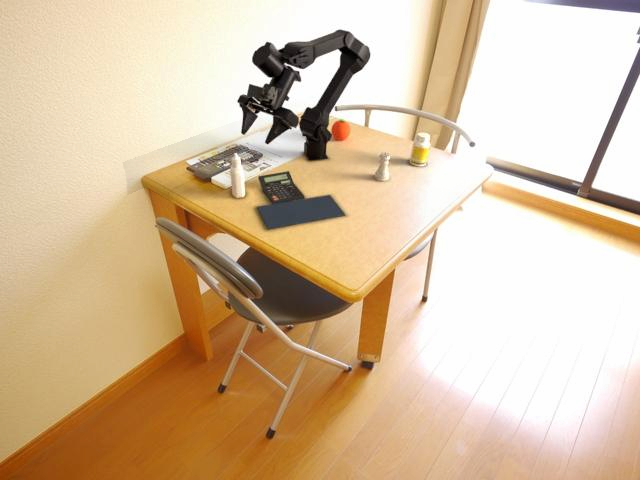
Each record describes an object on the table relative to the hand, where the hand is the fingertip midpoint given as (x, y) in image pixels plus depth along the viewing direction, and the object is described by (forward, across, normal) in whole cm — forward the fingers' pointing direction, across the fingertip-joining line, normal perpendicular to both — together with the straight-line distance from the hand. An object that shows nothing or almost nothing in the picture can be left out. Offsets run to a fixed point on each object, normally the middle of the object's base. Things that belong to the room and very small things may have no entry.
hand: (254, 138), depth 111 cm
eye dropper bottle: (+15, +1, +3) cm, 16 cm away
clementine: (-18, -1, +42) cm, 45 cm away
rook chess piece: (-8, +26, +30) cm, 40 cm away
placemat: (+12, +20, +6) cm, 24 cm away
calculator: (+10, +9, +10) cm, 16 cm away
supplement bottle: (-20, +29, +43) cm, 56 cm away
